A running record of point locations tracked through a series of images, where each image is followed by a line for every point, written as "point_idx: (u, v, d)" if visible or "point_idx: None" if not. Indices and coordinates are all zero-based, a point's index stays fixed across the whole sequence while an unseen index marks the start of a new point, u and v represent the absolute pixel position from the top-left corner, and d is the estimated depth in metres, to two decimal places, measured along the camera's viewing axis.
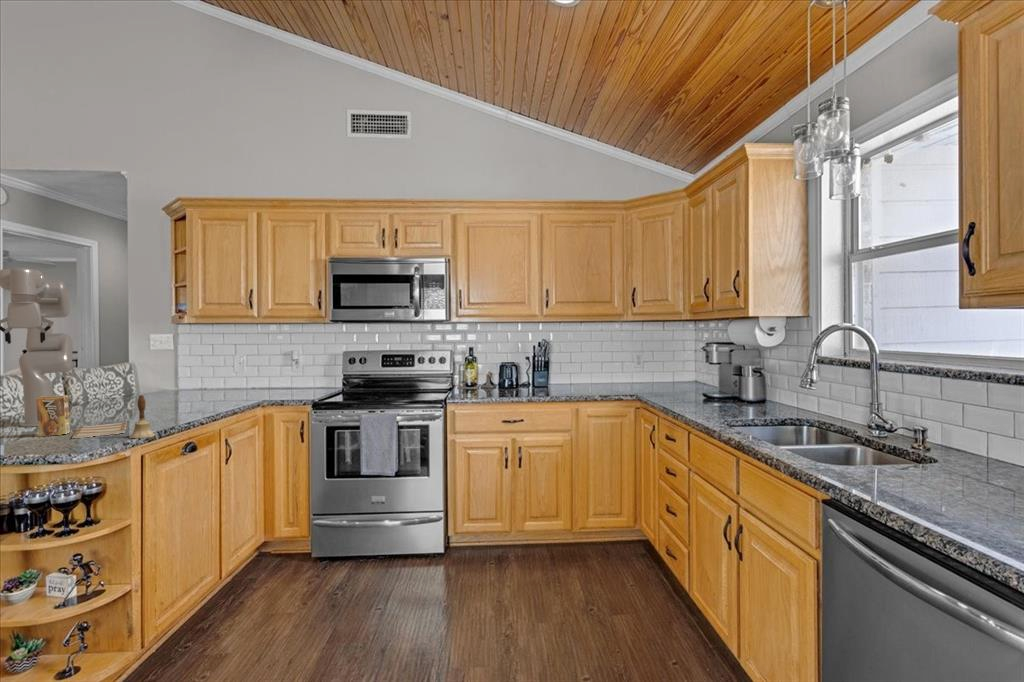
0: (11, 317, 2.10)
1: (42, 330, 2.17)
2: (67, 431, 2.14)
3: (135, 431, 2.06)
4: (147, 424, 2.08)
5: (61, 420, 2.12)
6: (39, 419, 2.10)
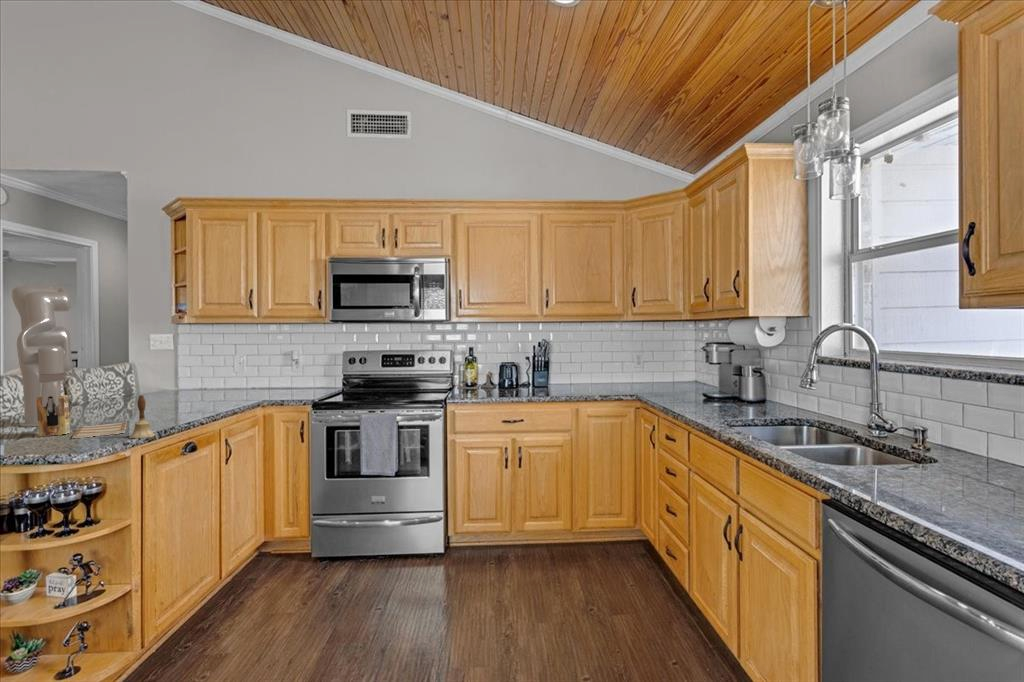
0: (58, 396, 2.10)
1: None
2: (67, 431, 2.14)
3: (135, 431, 2.06)
4: (147, 424, 2.08)
5: (61, 420, 2.12)
6: (39, 419, 2.10)
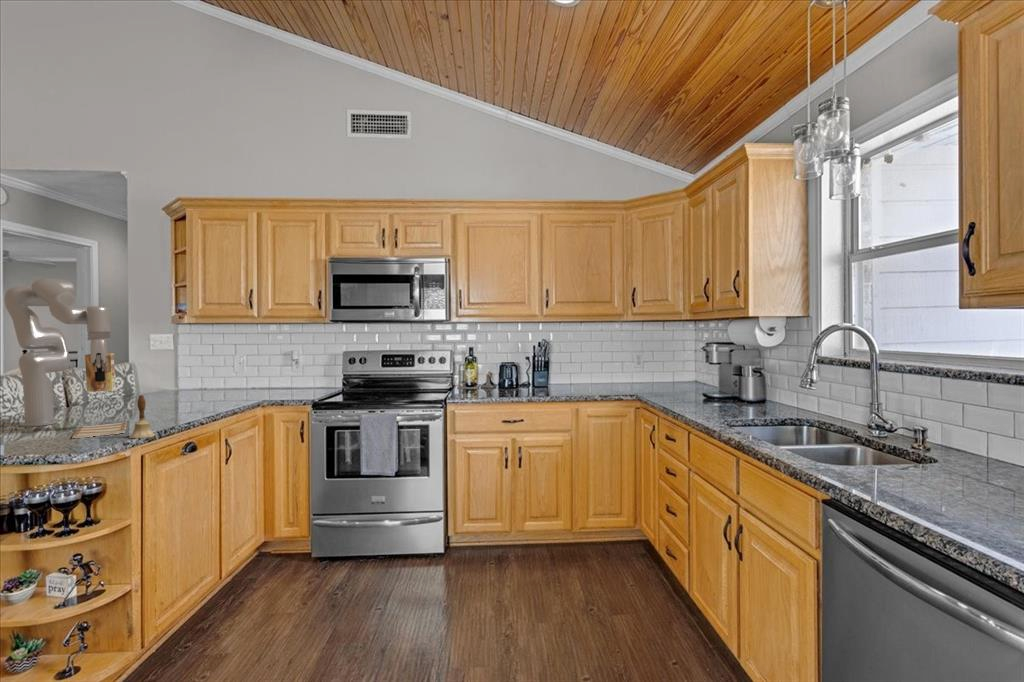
0: (105, 353, 2.21)
1: None
2: (113, 387, 2.25)
3: (135, 431, 2.06)
4: (147, 424, 2.08)
5: (108, 376, 2.23)
6: (87, 375, 2.20)
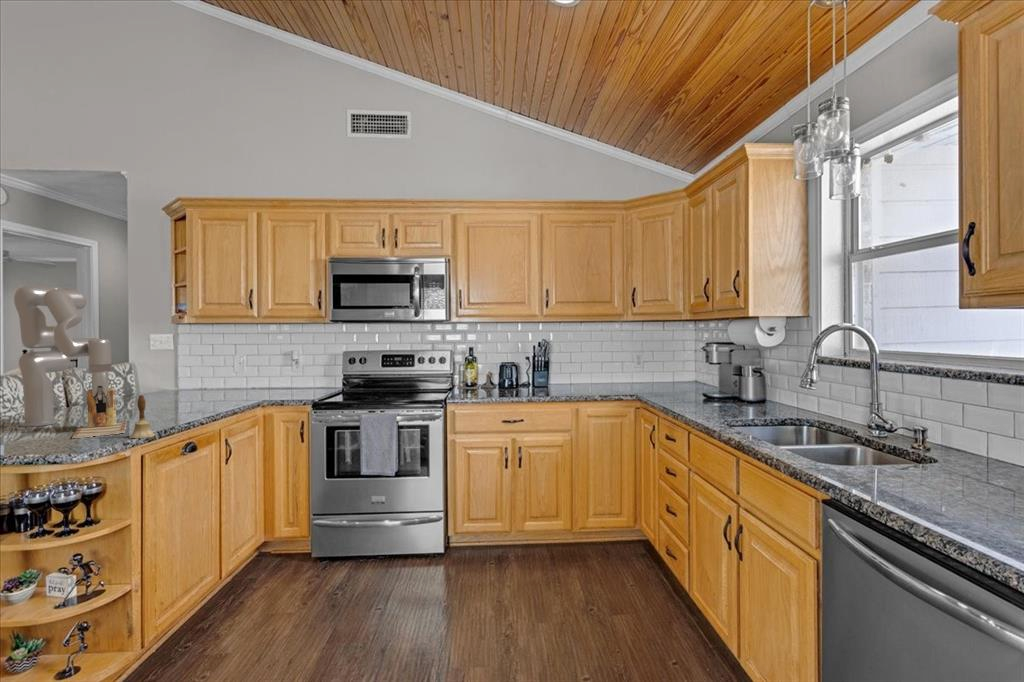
0: (107, 386, 2.22)
1: None
2: (114, 422, 2.26)
3: (135, 431, 2.06)
4: (147, 424, 2.08)
5: (110, 411, 2.24)
6: (89, 410, 2.21)
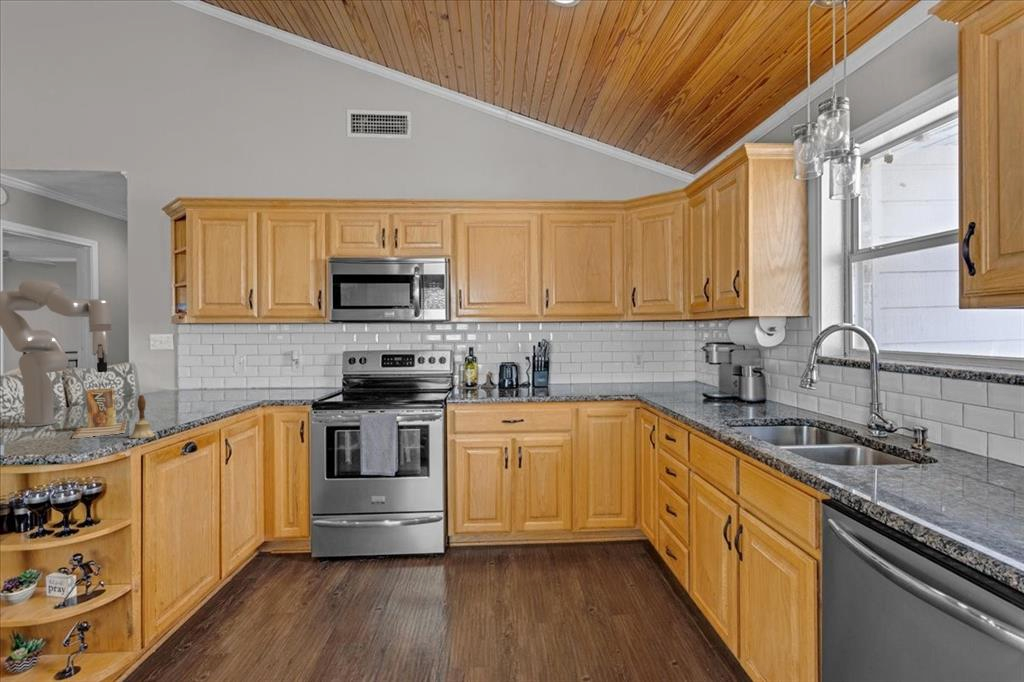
0: (106, 345, 2.29)
1: (105, 359, 2.33)
2: (114, 422, 2.26)
3: (135, 431, 2.06)
4: (147, 424, 2.08)
5: (109, 411, 2.24)
6: (89, 411, 2.21)
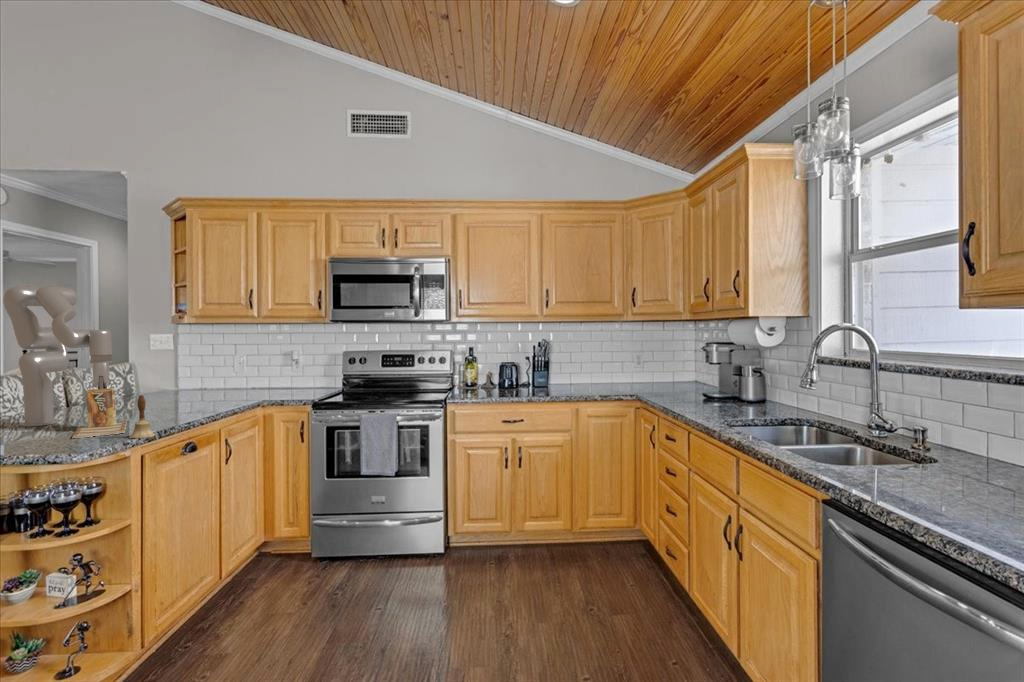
0: (107, 376, 2.26)
1: None
2: (114, 422, 2.26)
3: (135, 431, 2.06)
4: (147, 424, 2.08)
5: (109, 411, 2.24)
6: (89, 411, 2.21)
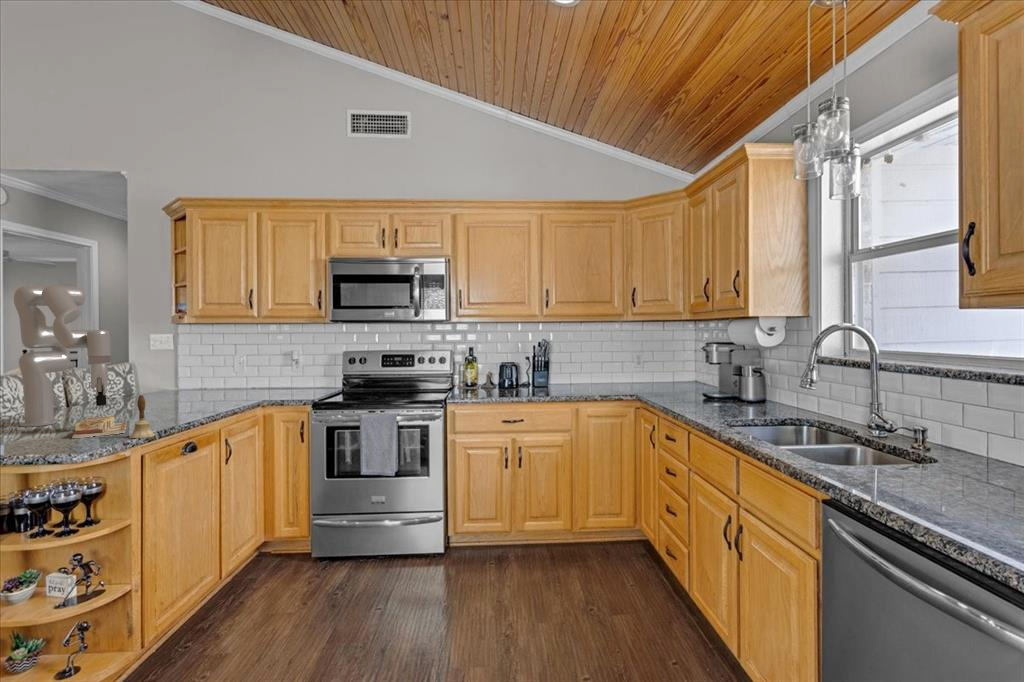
0: (106, 378, 2.19)
1: None
2: (113, 422, 2.23)
3: (135, 431, 2.06)
4: (147, 424, 2.08)
5: None
6: None
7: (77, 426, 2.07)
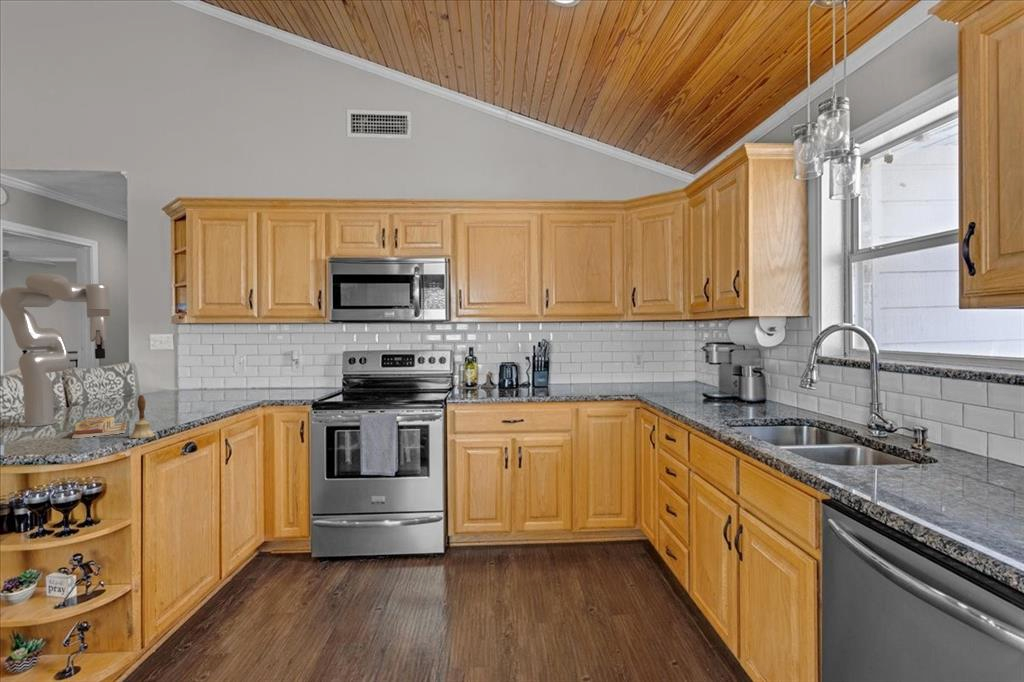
0: (105, 331, 2.23)
1: None
2: (113, 422, 2.23)
3: (135, 431, 2.06)
4: (147, 424, 2.08)
5: None
6: None
7: (77, 426, 2.07)
